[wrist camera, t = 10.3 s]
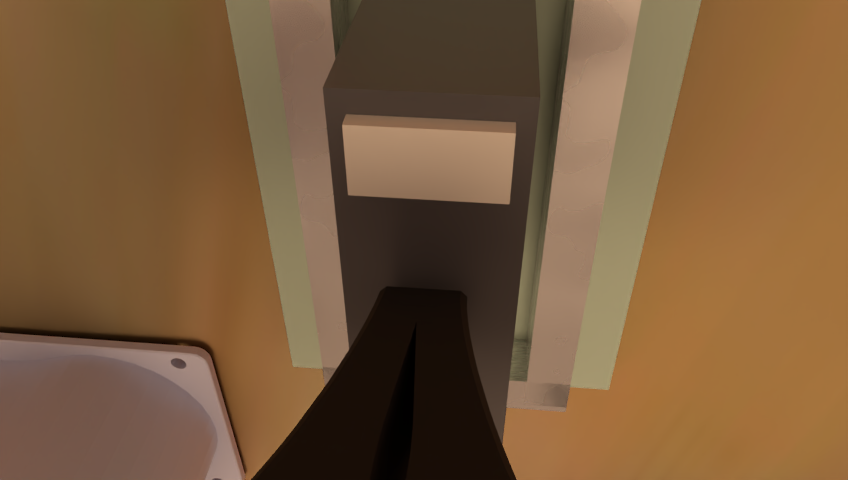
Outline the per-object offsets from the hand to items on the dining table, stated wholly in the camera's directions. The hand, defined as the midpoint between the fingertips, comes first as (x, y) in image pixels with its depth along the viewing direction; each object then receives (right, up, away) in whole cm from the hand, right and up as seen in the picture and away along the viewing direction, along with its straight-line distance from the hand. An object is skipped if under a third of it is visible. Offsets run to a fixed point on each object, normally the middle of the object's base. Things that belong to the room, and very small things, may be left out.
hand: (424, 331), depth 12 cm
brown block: (+1, +4, +5) cm, 7 cm away
